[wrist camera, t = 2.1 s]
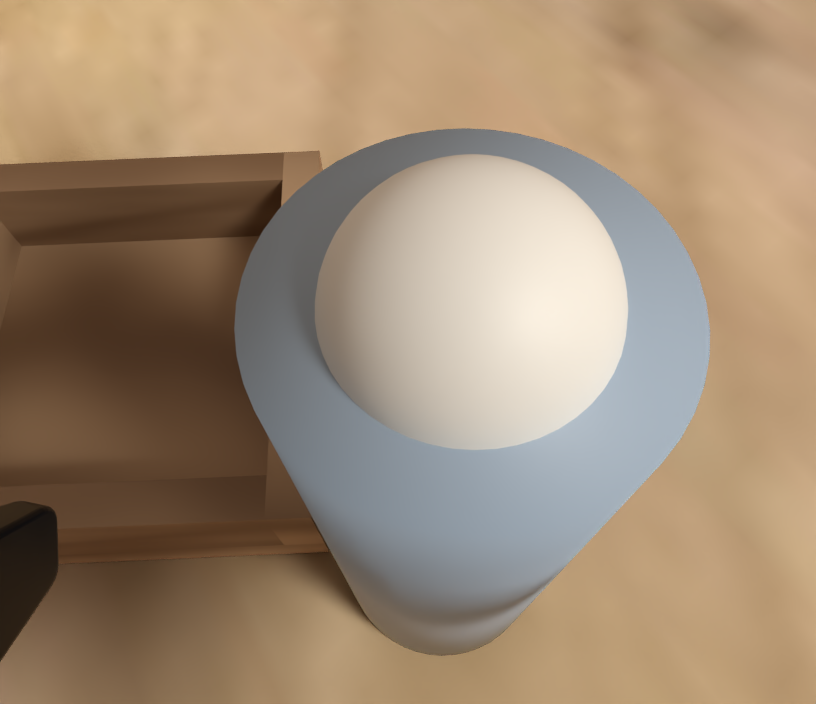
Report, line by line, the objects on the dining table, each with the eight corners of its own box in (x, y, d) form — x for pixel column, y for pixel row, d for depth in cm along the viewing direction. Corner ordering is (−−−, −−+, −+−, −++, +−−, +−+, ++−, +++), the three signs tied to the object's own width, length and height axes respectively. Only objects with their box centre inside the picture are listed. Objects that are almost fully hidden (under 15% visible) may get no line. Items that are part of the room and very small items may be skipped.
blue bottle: (572, 556, 18) (885, 215, 6) (442, 701, 17) (498, 648, 4) (439, 431, 20) (467, -38, 8) (310, 553, 18) (82, 216, 6)
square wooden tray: (329, 551, 18) (310, 517, 15) (-76, 569, 18) (-177, 539, 15) (332, 226, 23) (319, 151, 20) (12, 240, 23) (-51, 166, 20)
